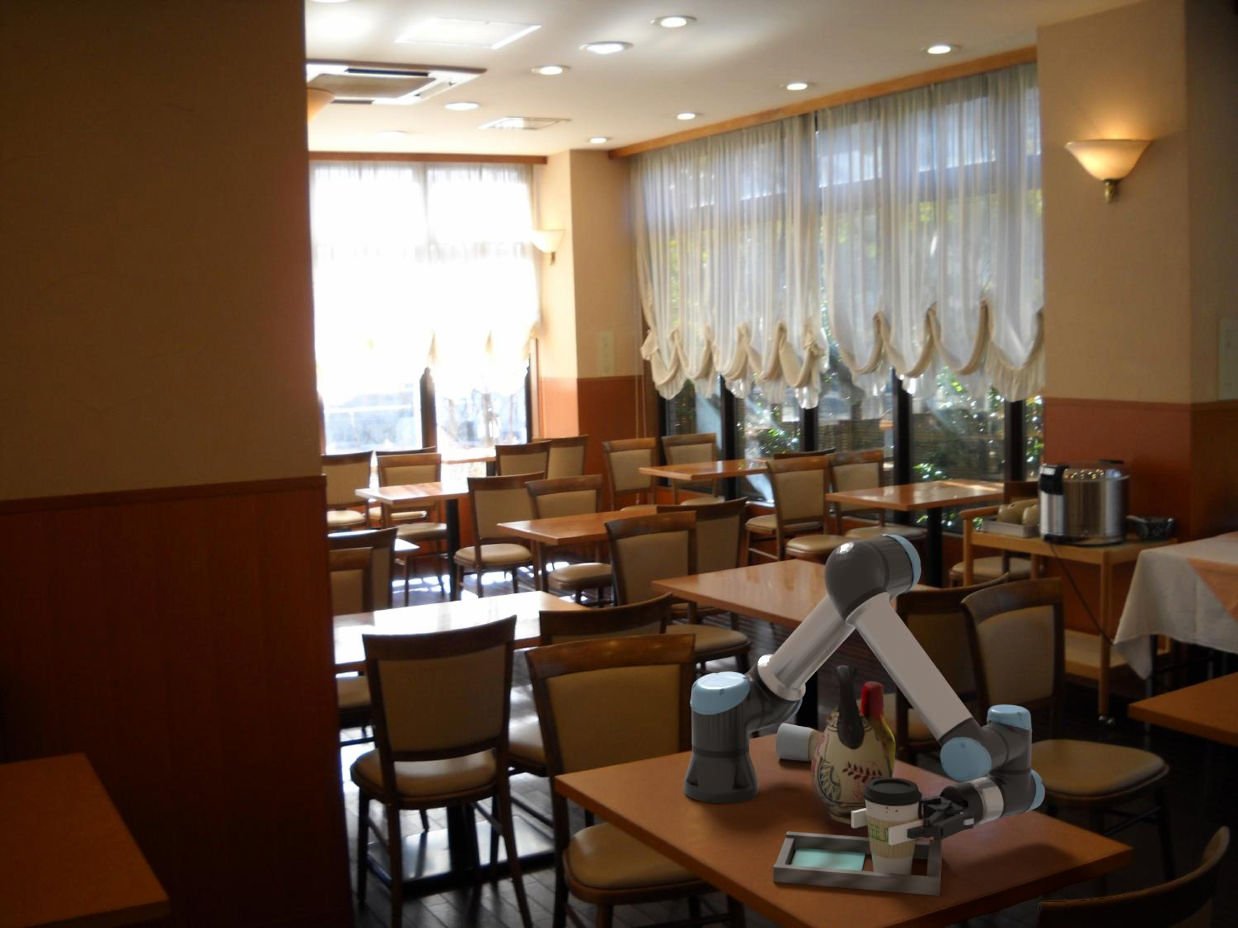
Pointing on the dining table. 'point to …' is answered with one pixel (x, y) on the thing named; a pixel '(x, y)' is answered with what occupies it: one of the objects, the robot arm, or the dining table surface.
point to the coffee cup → (890, 821)
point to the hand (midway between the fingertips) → (871, 827)
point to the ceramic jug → (847, 754)
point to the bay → (851, 864)
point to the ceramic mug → (796, 742)
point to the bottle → (877, 716)
